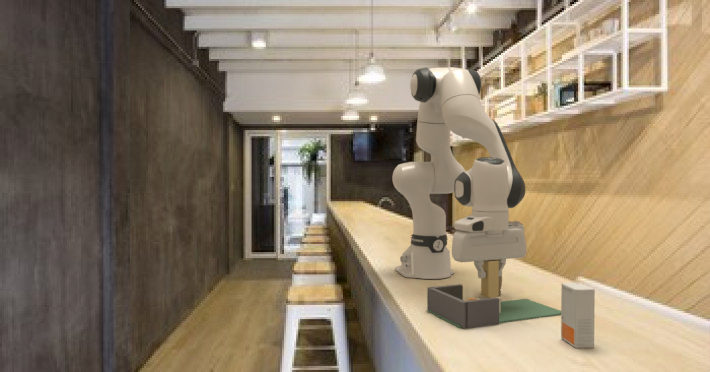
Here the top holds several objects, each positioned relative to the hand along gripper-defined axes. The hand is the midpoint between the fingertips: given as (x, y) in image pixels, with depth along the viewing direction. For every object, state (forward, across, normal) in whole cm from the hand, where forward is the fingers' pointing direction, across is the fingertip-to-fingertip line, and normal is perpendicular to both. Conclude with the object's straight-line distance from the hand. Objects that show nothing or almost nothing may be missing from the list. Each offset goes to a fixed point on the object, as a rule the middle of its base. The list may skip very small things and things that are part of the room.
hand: (489, 277), depth 127 cm
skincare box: (+9, -3, +25) cm, 27 cm away
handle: (+9, -14, -16) cm, 23 cm away
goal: (+9, +8, 0) cm, 12 cm away
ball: (+7, +5, 0) cm, 8 cm away
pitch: (+9, -2, 0) cm, 9 cm away
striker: (+9, 0, 0) cm, 9 cm away
